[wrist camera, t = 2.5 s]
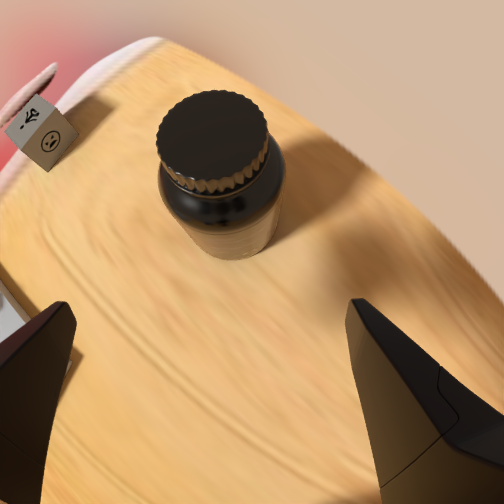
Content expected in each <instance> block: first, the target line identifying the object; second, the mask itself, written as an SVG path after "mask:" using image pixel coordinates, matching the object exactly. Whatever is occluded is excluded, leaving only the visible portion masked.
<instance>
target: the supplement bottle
mask: <svg viewBox="0 0 504 504" xmlns="http://www.w3.org/2000/svg"><path fill="white" fill-rule="evenodd" d="M156 136H157V141H156V147H157V148H158V156H159V157H160V159H161V161H160V164H159V169H158V187H159V192H160V195H161V198H162V200H163V202H164V204H165V206H166V207H167V209H168V210H169V212H170V213H171V214H172V216H173V217H174V218H175V219H176V220H177V222H178V223H179V224H180V225H181V226H182V228H183V229H184V230H185V231H186V232H187V234H188V235H189V236H190V237H191V238H192V239H193V241H194V242H195V243H196V244H197V245H198V246H199V247H200V248H201V249H202V250H203V251H205V252H206V253H208V254H209V255H211V256H213V257H216V258H219V259H223V260H240V259H245V258H248V257H250V256H252V255H254V254H256V253H258V252H259V251H260V250H262V249H263V248H264V247H265V246H266V245H267V244H268V242H269V241H270V240H271V238H272V236H273V234H274V232H275V230H276V226H277V222H278V217H279V212H280V207H281V202H282V196H283V191H284V185H285V178H286V166H285V160H284V156H283V153H282V151H281V149H280V146H279V145H278V143H277V142H276V140H275V139H274V138H273V137H272V135H271V134H270V133H269V131H268V129H267V121H266V119H265V118H264V114H263V112H262V111H260V110H259V107H258V105H256V104H254V103H253V102H252V100H251V99H248V98H245V96H244V95H241V94H237V93H235V92H228V91H226V90H220V91H218V90H211V91H203V92H201V93H198V94H193V95H192V96H190V97H187V98H184V99H183V100H182V101H181V102H179V103H177V104H176V105H175V106H174V107H173V108H172V109H170V110H169V112H168V114H167V115H166V116H165V117H164V118H163V121H162V123H161V124H160V125H159V131H158V132H157V134H156Z"/></svg>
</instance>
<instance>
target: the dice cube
mask: <svg viewBox="0 0 504 504" xmlns="http://www.w3.org/2000/svg"><path fill="white" fill-rule="evenodd" d="M4 132H5V133H6V134H7V136H8V137H9V138H10V139H11V140H12V141H13V142H14V144H15V145H16V146H17V147H18V148H19V149H20V150H21V151H22V152H23V153H24V154H26V155H27V156H28V157H29V158H30V159H32V160H33V161H34V162H35V163H37V164H38V165H39V166H40V167H41V168H43V169H44V170H45V171H46V172H49V170H50V169H51V168H52V166H53V165H54V164H55V163H56V161H57V160H58V159H59V158H60V156H61V155H62V154H63V153H64V152H65V150H66V149H67V148H68V147H69V146H70V144H71V143H72V142H73V141H74V140H75V139H76V138H77V136H78V135H79V134H78V133H77V131H76V130H75V129H74V128H73V127H72V126H71V124H70V123H69V122H68V121H67V120H66V119H65V117H64V116H63V115H62V114H61V113H60V111H59V110H58V109H57V108H56V107H55V106H53V105H52V104H50V103H49V102H48V101H46V100H45V99H43V98H42V97H40V96H39V95H38V94H36V95H35V96H34V97H33V98H32V99H31V100H30V101H29V102H28V103H27V105H26V106H25V107H24V108H23V109H22V110H21V111H20V113H19V114H18V115H17V116H16V118H15V119H14V120H13V121H12V122H11V124H10V125H9V126H8V127H7V129H6V130H5V131H4Z"/></svg>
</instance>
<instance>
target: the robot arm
mask: <svg viewBox="0 0 504 504" xmlns="http://www.w3.org/2000/svg"><path fill="white" fill-rule="evenodd" d="M76 326H77V321H76V318H75V316H74V314H73V312H72V310H71V308H70V306H69V304H68V303H67V302H65V301H57V302H55V303H53V304H52V305H50V306H49V307H48V308H46V309H45V310H43V311H42V312H41V313H39V314H38V315H37V316H35V317H34V318H32V319H31V320H30V321H28V322H27V323H26V324H24V325H23V326H22V327H20V328H19V329H18V330H16V331H15V332H14V333H12V334H11V335H10V336H8V337H7V338H6V339H5V340H3V341H2V342H1V343H0V504H40V501H41V492H42V484H43V476H44V469H45V468H44V467H45V462H46V456H47V451H48V445H49V440H50V435H51V430H52V426H53V421H54V417H55V412H56V408H57V404H58V400H59V396H60V392H61V389H62V385H63V381H64V378H65V374H66V371H67V367H68V363H69V359H70V354H71V349H72V344H73V340H74V335H75V331H76ZM345 327H346V333H347V339H348V346H349V352H350V359H351V366H352V371H353V375H354V379H355V383H356V387H357V390H358V394H359V398H360V402H361V406H362V410H363V414H364V418H365V423H366V427H367V431H368V435H369V440H370V444H371V449H372V453H373V458H374V463H375V467H376V472H377V477H378V482H379V487H380V488H381V489H380V493H381V499H382V504H504V415H502V414H501V413H500V412H498V411H497V410H496V409H494V408H493V407H492V406H490V405H489V404H488V403H486V402H485V401H484V400H482V399H481V398H480V397H478V396H477V395H476V394H474V393H473V392H472V391H470V390H469V389H468V388H467V387H465V386H464V385H463V384H462V383H460V382H459V381H458V380H457V379H456V378H455V377H453V376H452V375H451V374H450V373H449V372H448V371H447V370H446V369H444V368H443V367H442V366H440V364H439V363H438V362H437V361H435V360H434V359H433V358H432V357H431V356H430V355H429V354H428V353H426V352H425V351H424V350H423V349H422V348H421V347H420V346H419V345H417V344H416V343H415V342H414V341H413V340H412V339H411V338H409V337H408V336H407V335H406V334H405V333H404V332H403V331H401V330H400V329H399V328H398V327H397V326H396V325H395V324H393V323H392V322H391V321H390V320H389V319H388V318H386V317H385V316H384V315H383V314H382V313H381V312H379V311H378V310H377V309H376V308H375V307H374V306H372V305H371V304H370V303H369V302H368V301H366V300H365V299H364V298H355V299H351V300H350V301H349V305H348V309H347V314H346V319H345Z"/></svg>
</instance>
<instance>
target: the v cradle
mask: <svg viewBox="0 0 504 504" xmlns="http://www.w3.org/2000/svg"><path fill="white" fill-rule="evenodd" d="M30 320H31V318H30V317H29V315H28V314H27V313H26V312H25V311H24V310H23V308H22V307H21V306H20V305H19V303H18V302H17V301H16V300H15V298H14V297H13V296H12V295H11V293H10V292H9V291H8V289H7V288H6V287H5V285H4V284H3V283H2V281H1V280H0V343H1V342H2V341H3V340H5V339H6V338H7V337H8V336H10V335H11V334H12V333H14V332H15V331H16V330H18V329H19V328H20V327H22V326H23V325H24V324H26V323H27V322H28V321H30ZM71 364H72V362H71V361H70V360H69V363H68V367H67V371H66V374H67V372H68V370H69V368H70V366H71ZM66 374H65V376H66Z"/></svg>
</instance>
